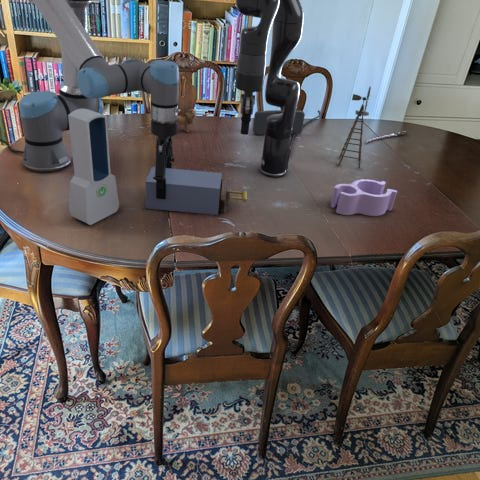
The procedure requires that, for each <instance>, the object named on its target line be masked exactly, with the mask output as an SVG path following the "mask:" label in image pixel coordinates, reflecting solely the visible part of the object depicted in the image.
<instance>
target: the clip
mask: <svg viewBox="0 0 480 480" xmlns="http://www.w3.org/2000/svg"><path fill="white" fill-rule="evenodd" d="M386 184H387V182H386V181H385V180H381V181H378V180H375V179H369V178H368V179H367V178H361V179H356V180H354V181H353V182H352V183H338V184H336V185H335V186H334V188H333V193H332V198H331V203H330V207H331V208H336V210H335V213H337V214H339V215H343V216H351V215H355V214H360V215H364V216H370V217H378V216H382V215H384V214H386V212H387V211H392V210H393V206H394V203H395V201H396V197H397V194H398V190H397V189H393V188H387V189H386V192H385V188H386ZM384 192H385V193H384Z"/></svg>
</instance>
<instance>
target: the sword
mask: <svg viewBox="0 0 480 480" xmlns="http://www.w3.org/2000/svg"><path fill="white" fill-rule="evenodd" d="M404 134H406V133H402V134H400V132H393V133H390V134H387V135H381V136H378V137H374V138H370V139H368V140H366V141H365V144H368V143H370V142H374V141H378V140H381V139H386V138H390V137H394V136H395V137H398V136H399V135H404Z"/></svg>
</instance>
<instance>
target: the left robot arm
mask: <svg viewBox="0 0 480 480" xmlns="http://www.w3.org/2000/svg"><path fill="white" fill-rule="evenodd" d="M93 1H94V0H28V2H29V3H32V4H34V5H35V6H36V8H37V10H38V11H39V13H40V14H41V15H42V18H44V20H45V22H46V23H47V25H48V26H49V28H50V29H51V31H52V32H53V34H54V36H55V37H56V39H57V40H58V41H59V43H60V52H61V66H62V67H61V68H62V82H61V83H60V84H59V86H58V94H56V92H54V91H51V90H42V91H41V90H37V91H32V92H30V93H26V94H24V96H22V97H21V99H20V100H19V103H18V104H19V116H20V120H21V126H22V132H23V136H24V148H23V150H19V149H18V150H17V149H14V148H11V146H10V144H9V142H7V141H6V140H4V139H1V138H0V142H1V143H4V144H5V145H6V147H7V149H8V150H9V151H11V152H13V153H16V154H17V153H18V154H22V158H21V159H22V160H21V161H22V166H23V168H24V169H25V170H27V171H29V172H33V173H39V174H46V173H56V172H61V171H63V170H66V169H67V168H69V167H70V166H71V163H72V159H71V155H70V153H69V151H68V150H67V149H68V148H67V147H66V145H65V143H64V140H63V132H66V131H67V132H68V131H70V128H69V119H68V115H69V114H70V113H71V112H73V111H75V110H77V109H88V110H91V111H94V112H97V113H100V114H103V115H104V102H103V100H102V99H103V98H106V97H110V96H115V95H116V96H117V95H122V94H123V95H124V94H127V93H133V92H138V91H139V92H143V93H146V94H148V95H150V119H151V120H150V132H151V134H152V135H154V136H156V137H157V140H156V142H155V143H156V144H155V166H154V167H155V177H153V179H155V180H156V199H166V178H165V173H166V168H171V169H173V163H175V158H174V153H173V137H175V136H176V135H177V134H178V133H179V124H178V121H177V119H178V116H179V113H181V109H180V108H179V88H180V87H179V86H180V74H179V73H180V71H179V70H180V69H179V65H178V64H177V63H176V62H175V61H172V60H167V59H155V60H152V61H151V62H150V63H147V62H145V61H143V60H140V59H135V58H127V59H125V60H124V61H123V62H122V63H116V64H109V63H108V62H107V61H106V59H105V58H104V56H103V55H102V53H101V51H100V50H99V48H98V47H97V45H96V44H95V42H94V41H93V39H92V38H91V36H90V23H89V22H90V21H89V5H91V4H92V3H93Z"/></svg>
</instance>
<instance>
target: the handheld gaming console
mask: <svg viewBox="0 0 480 480" xmlns="http://www.w3.org/2000/svg"><path fill="white" fill-rule="evenodd" d="M283 110H284V109H281V110H273V109H272V110H257V111H255V113H254V116H253V124H252V132H253V134H254V135H259V136H265V129H266V121H267V118H268V117H269V116H271V115H275V114H281V113H283ZM305 115H306V114H305V112H304V111H303V110H297V109H296V113H295V118H294V122H293V127H292V134H291V135H294V133H295V132H296V135H297V134H301V133H302V132H303V128H304V127H303V125H304V122H305V121H304V120H305Z"/></svg>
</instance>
